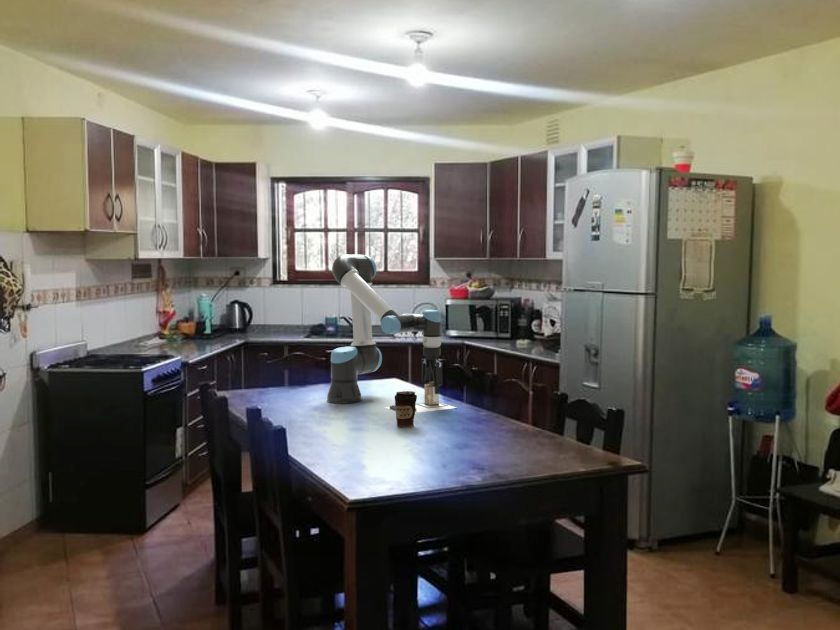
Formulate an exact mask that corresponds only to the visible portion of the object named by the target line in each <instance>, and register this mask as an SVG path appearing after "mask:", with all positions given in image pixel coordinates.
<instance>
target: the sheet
mask: <svg viewBox="0 0 840 630" xmlns="http://www.w3.org/2000/svg"><path fill="white" fill-rule="evenodd" d="M390 406H391V405H389V406H384V407H383V408H384V409H388V410H389V411H393V412H395V411H394V410H392V409H390ZM415 408H416V411H415V414H418V413H425V412H426V413H427V412H434V411H443V410H450V409H451V410H452V409H454V408H457V407H456V406H452V405H449V404H446V403H442V402H439V405H438V406H427V405H425V402H419V403H417V402H416V405H415Z"/></svg>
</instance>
